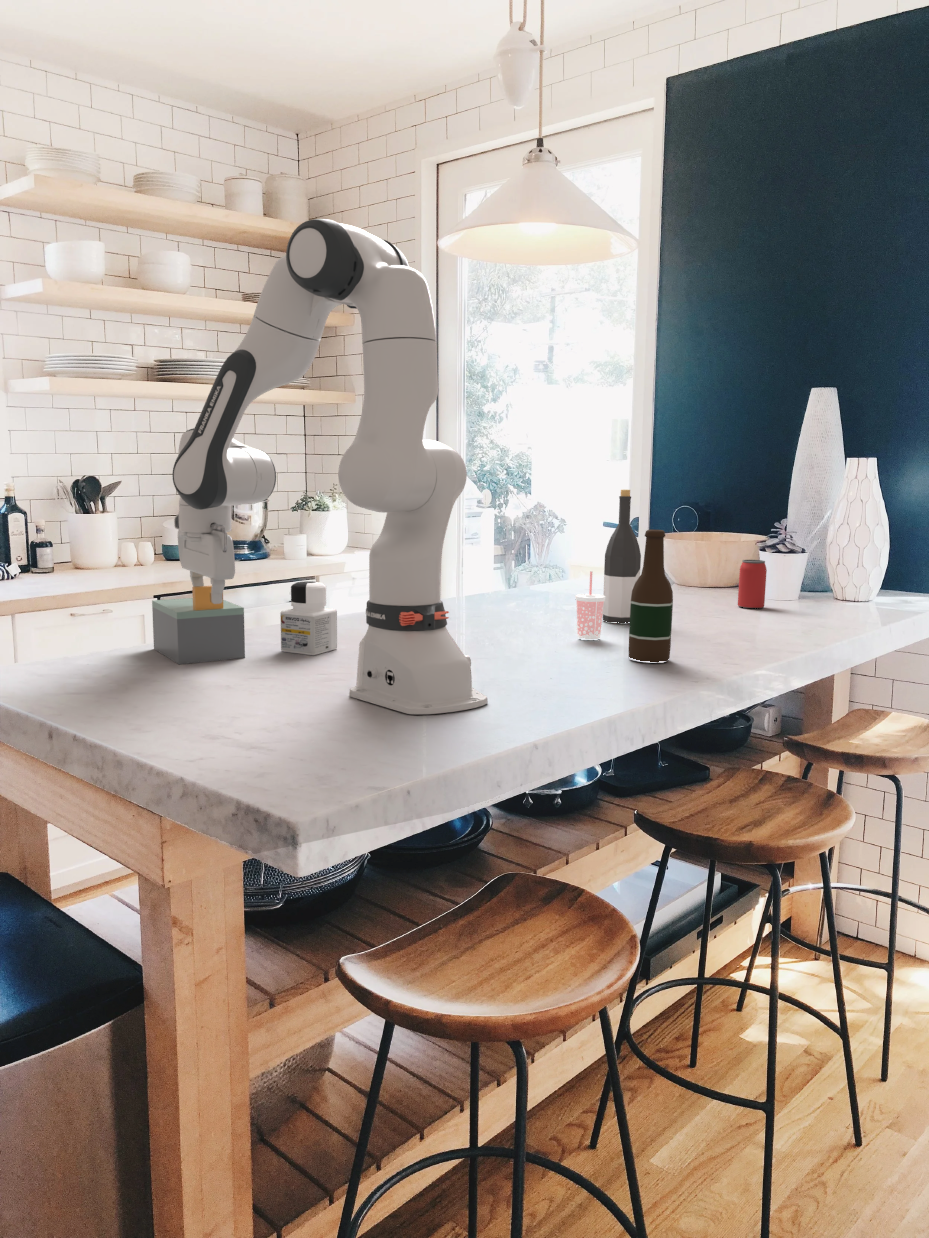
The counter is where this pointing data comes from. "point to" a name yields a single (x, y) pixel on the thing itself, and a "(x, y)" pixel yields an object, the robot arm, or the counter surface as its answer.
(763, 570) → the beer can
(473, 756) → the counter surface
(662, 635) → the beer bottle
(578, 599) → the beverage cup
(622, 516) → the wine bottle
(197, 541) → the robot arm
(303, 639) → the container
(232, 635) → the tub
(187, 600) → the lid
